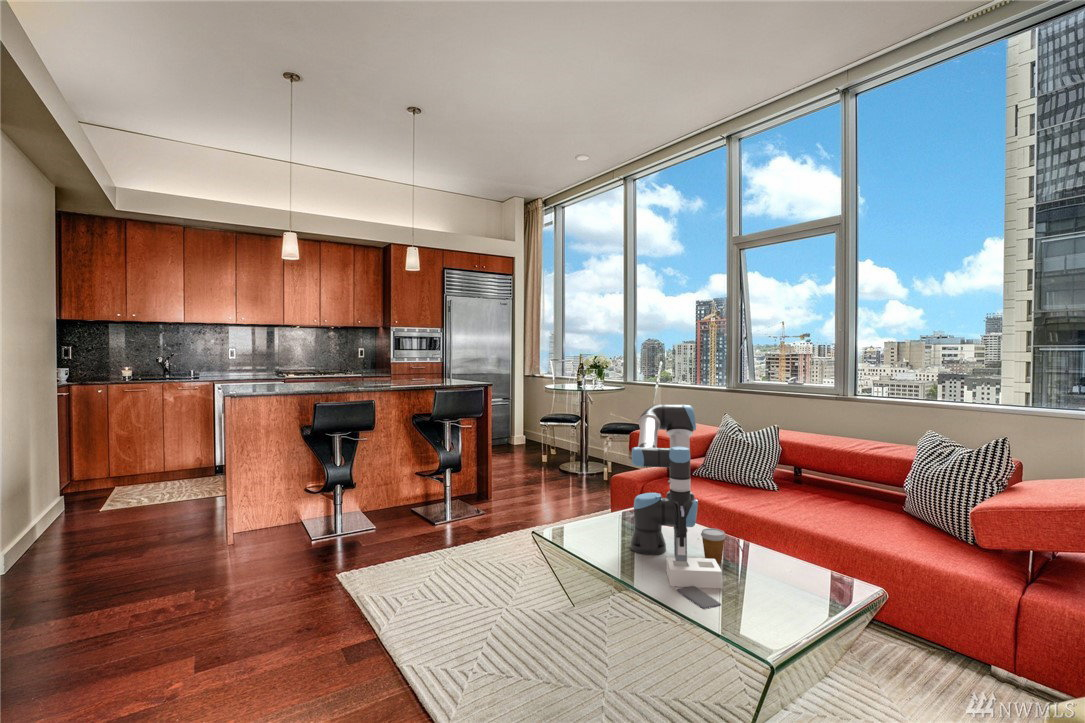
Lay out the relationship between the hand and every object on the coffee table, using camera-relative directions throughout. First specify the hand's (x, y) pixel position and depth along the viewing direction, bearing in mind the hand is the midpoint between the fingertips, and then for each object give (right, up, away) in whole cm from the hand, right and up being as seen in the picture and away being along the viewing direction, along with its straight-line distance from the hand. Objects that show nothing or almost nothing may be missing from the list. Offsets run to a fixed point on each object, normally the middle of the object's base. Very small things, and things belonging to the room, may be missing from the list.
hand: (680, 552), depth 192 cm
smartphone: (+2, -11, -14) cm, 18 cm away
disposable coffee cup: (+18, -10, +17) cm, 27 cm away
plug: (0, -3, 0) cm, 3 cm away
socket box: (+5, -10, 0) cm, 11 cm away
